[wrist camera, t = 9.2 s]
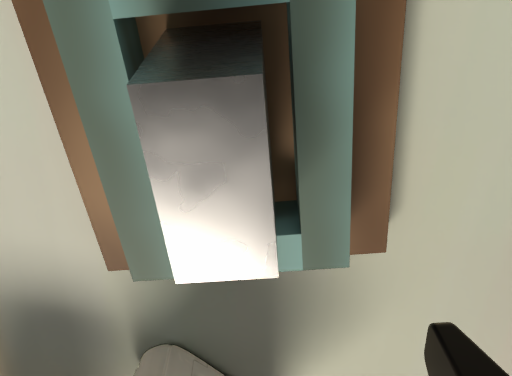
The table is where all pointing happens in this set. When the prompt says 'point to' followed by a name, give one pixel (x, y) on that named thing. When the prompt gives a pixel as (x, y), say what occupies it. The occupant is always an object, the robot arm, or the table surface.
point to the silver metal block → (209, 150)
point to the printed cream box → (173, 363)
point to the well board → (279, 112)
